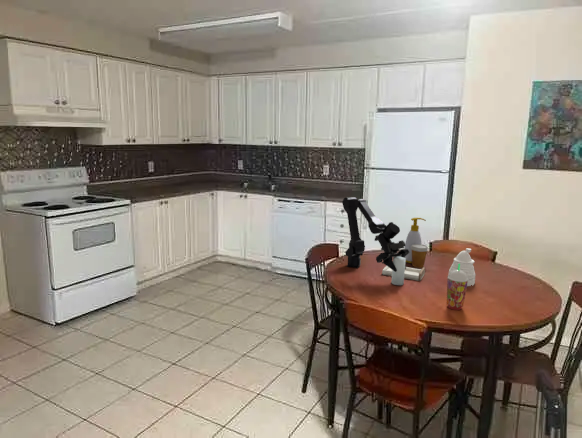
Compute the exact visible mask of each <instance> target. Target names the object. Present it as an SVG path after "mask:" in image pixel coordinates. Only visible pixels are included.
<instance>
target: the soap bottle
mask: <svg viewBox="0 0 582 438" xmlns="http://www.w3.org/2000/svg"><path fill="white" fill-rule="evenodd" d="M410 220H411V221H413V224H411V225H410V226H411V227H410V231H408V234H407V236H406V240H405V246H404V248H403V249H408V250H409V252H410V253H409V254H408V255H406V256H405V258H406V262H405V263H409V264H412V249H411V247H412V245H413V244H422V237H421V233H420V231H419V229H420V226H419V225H418V220H422V221H424V222H426V219H424V218H422V217H412V218H411V219H410Z"/></svg>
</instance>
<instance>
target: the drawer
mask: <svg viewBox="0 0 582 438" xmlns="http://www.w3.org/2000/svg"><path fill="white" fill-rule="evenodd" d="M381 271H382V273H381V275H383V276H389V277H390V276H391V277H392V269H391V268H389V267H388V266H386V265H385V266H384V268H383V269H382V270H381ZM425 273H426V267H422V268H416V267H408V266H406V269H405V274H404V279H407V280H412V281H413V280H414V281H418V282H419V281H422V279H423V277H424V276H425Z"/></svg>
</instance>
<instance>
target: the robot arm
mask: <svg viewBox="0 0 582 438" xmlns="http://www.w3.org/2000/svg"><path fill="white" fill-rule="evenodd" d="M341 202H342V207H343V210H344V211H345V212H346V214H347V221H348V228H349V236H350V240H349V242H348V249H346V250H345V252H344V253H345V256H346V257H347V265H346V267H348V268H353V269H354V268H355V269H358V268H359V267H360V266H361V265H362V264H361V262H362V261H361V260H362V258H361V256H363V254H364V252H365V250H366V249H365V248H366V246H365V245H366V244H365V240H364V239H361V237H360V230H359V223H358V215H357V210H358V209H359V211H360V212H361V215H362V216H363V217H364V218H365V219H366V221H367V223H368V224H367V225H368V228H369V230H370V232H371V234H374V235H375V237H374V242H377V241H378V243H379V245H380V246H381V248H380V250H381V251H383V252H381V253H379V254H378V255H377V256H375V261H376V263H377V264H379V263H381V264H384V265H385V267H386V266H388V267H389V268H391V269H392V270H393V271H395V272H396V271H397V270H396V267H395V265H394V263H393V257H404V258H405V256H406V255H408V254H409V253H410V252H409V250H408V249H404V247H405V243H406V241H404V239H403V240H399V241H398V242H394V241H392V239H393V238H395V237H396V236H397V235H398V234H399V233H400V231H401V230H400V227H399V225H397V224H396V223H394V222H393V221H390V222H388V224H385V223H384V222H383V221H382V219H380V218H378V217H377V216H376V215H375V214H374V212H373V210H371V208H370V207H369V205H368V204H367V202H366V199H365V198H357V197H355V196H350V197H349V196H348V197H344V198H343V199H342V201H341ZM377 234H378V235H377ZM406 267H407V265H405V269H406Z"/></svg>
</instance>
